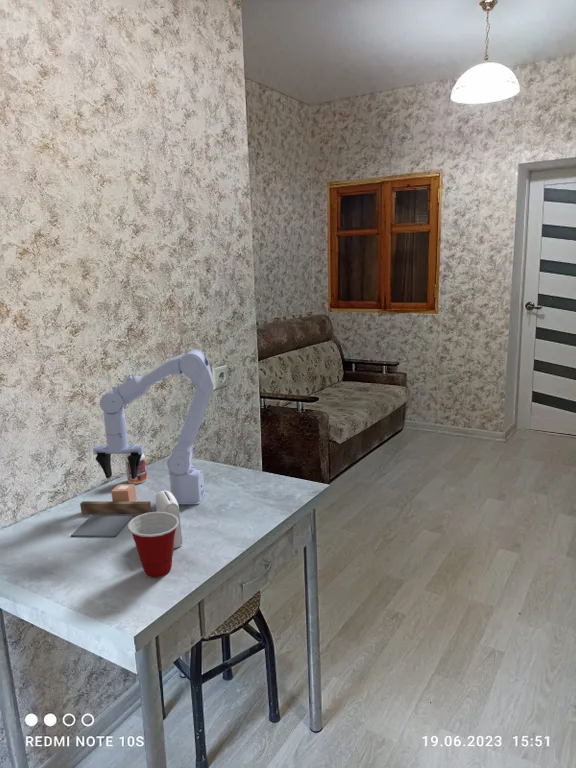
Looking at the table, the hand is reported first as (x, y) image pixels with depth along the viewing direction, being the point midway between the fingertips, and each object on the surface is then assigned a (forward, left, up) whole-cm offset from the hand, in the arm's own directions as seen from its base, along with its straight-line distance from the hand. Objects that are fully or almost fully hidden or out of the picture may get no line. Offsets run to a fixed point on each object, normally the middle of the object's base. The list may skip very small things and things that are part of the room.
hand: (121, 477), depth 155 cm
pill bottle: (+3, -17, -8) cm, 19 cm away
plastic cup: (-23, +35, -8) cm, 43 cm away
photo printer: (-21, +21, -8) cm, 31 cm away
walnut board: (0, +6, -8) cm, 10 cm away
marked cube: (0, 0, -8) cm, 8 cm away
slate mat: (0, +14, -8) cm, 16 cm away
